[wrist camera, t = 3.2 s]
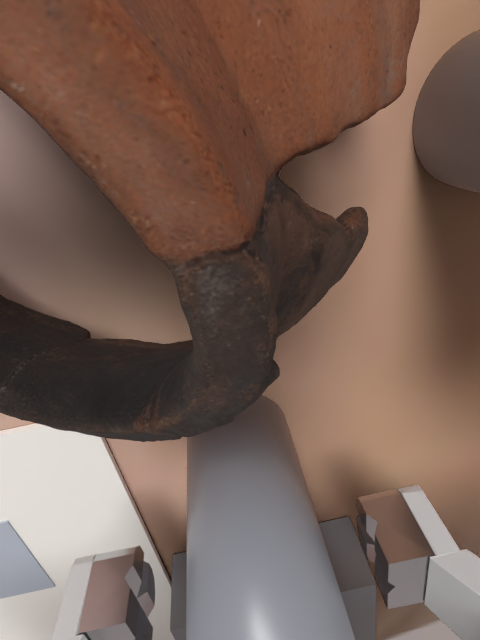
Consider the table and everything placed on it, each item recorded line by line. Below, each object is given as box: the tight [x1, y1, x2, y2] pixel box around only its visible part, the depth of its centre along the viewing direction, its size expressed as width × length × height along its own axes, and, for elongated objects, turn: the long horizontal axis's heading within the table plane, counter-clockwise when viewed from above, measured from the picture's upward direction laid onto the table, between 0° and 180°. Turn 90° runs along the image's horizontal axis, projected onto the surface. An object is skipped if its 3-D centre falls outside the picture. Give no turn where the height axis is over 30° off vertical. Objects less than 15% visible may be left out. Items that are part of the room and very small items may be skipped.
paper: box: [0, 423, 175, 640], centre depth 15 cm, size 12×16×1 cm
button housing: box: [170, 516, 376, 640], centre depth 16 cm, size 7×7×2 cm
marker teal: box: [186, 396, 355, 640], centre depth 9 cm, size 3×3×9 cm
